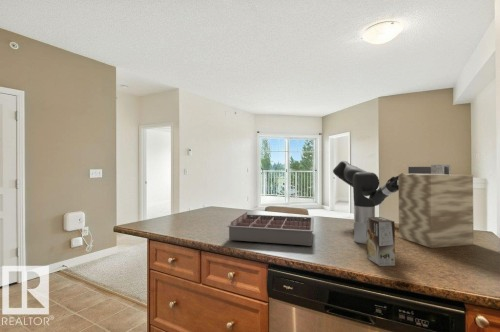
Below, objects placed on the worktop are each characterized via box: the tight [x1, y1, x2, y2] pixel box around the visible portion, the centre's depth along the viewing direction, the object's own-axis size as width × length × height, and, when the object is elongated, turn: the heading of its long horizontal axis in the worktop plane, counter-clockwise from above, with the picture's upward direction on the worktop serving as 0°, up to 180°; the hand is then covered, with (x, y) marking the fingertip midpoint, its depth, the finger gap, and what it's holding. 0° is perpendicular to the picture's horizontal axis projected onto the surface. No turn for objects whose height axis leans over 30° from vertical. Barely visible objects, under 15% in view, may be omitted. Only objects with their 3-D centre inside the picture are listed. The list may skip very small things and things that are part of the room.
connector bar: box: [407, 164, 452, 175], centre depth 132 cm, size 20×5×5 cm, turn 15°
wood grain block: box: [397, 173, 475, 249], centre depth 123 cm, size 18×24×32 cm
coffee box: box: [365, 216, 396, 267], centre depth 95 cm, size 9×6×16 cm
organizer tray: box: [226, 211, 315, 247], centre depth 131 cm, size 32×40×10 cm
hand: (409, 174), depth 143 cm, fingers open, 8 cm apart
